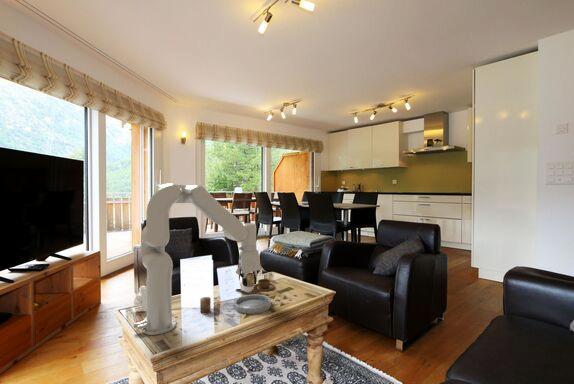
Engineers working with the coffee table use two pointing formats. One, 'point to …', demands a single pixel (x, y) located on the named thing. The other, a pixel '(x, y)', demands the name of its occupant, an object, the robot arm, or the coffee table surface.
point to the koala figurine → (141, 299)
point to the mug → (245, 289)
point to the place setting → (263, 285)
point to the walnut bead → (205, 305)
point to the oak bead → (250, 279)
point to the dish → (252, 304)
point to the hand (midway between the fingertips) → (249, 284)
